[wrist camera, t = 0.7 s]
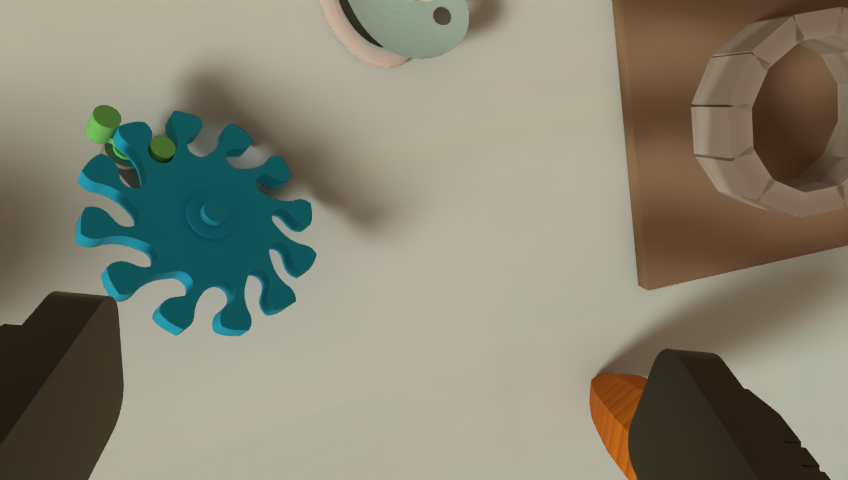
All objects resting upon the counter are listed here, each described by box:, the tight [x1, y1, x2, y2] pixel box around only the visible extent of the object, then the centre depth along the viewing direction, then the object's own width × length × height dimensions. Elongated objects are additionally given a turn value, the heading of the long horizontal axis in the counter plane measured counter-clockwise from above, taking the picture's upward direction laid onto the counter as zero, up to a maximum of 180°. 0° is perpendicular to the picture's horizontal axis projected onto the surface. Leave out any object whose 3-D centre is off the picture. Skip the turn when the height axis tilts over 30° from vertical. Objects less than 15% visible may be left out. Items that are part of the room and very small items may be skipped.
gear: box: [75, 105, 316, 336], centre depth 28 cm, size 11×6×10 cm
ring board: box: [612, 0, 848, 290], centre depth 33 cm, size 16×16×4 cm
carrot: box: [590, 374, 647, 480], centre depth 29 cm, size 5×5×15 cm
